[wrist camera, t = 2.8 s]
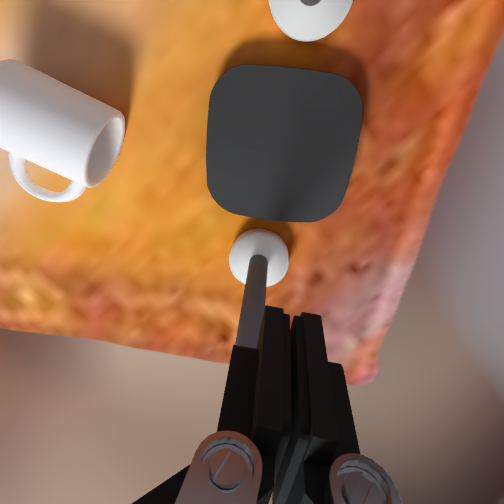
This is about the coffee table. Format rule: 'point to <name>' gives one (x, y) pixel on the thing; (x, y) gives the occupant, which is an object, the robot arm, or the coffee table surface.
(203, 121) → the coffee table surface
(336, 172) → the media streaming box
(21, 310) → the coffee table surface
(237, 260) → the far cord post
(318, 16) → the post
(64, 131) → the mug
